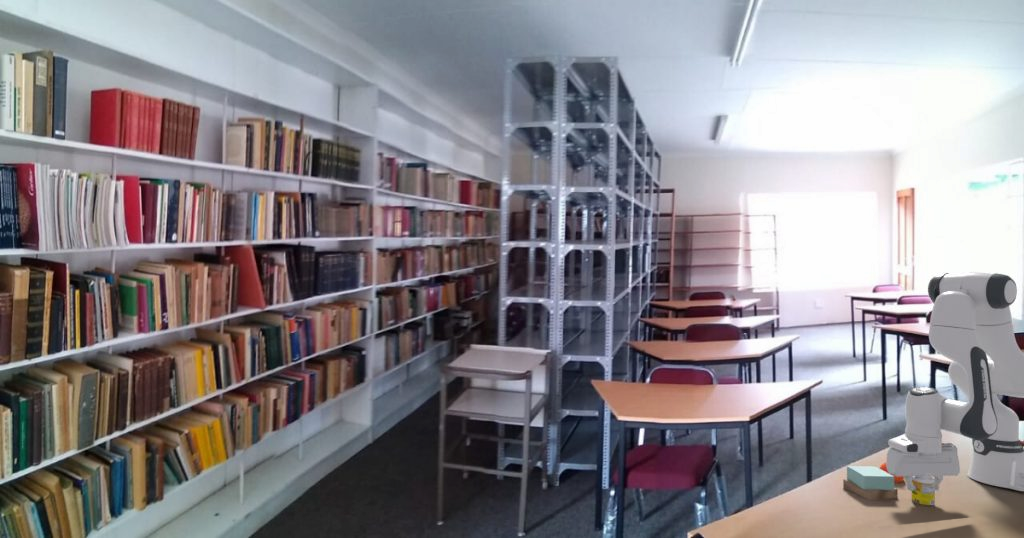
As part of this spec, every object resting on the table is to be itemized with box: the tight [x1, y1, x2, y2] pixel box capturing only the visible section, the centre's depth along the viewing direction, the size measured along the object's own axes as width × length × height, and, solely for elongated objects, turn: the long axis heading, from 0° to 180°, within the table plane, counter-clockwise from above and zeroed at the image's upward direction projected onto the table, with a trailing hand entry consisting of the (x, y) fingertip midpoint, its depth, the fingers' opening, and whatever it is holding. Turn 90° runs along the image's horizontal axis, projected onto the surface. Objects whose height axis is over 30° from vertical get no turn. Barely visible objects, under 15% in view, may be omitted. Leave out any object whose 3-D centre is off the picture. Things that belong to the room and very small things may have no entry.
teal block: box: [846, 465, 895, 490], centre depth 175 cm, size 9×9×4 cm
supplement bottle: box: [911, 473, 936, 508], centre depth 168 cm, size 6×6×10 cm
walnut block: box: [842, 478, 899, 501], centre depth 175 cm, size 10×10×4 cm
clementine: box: [878, 462, 905, 483], centre depth 186 cm, size 8×7×7 cm
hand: (923, 490), depth 168 cm, fingers closed on supplement bottle, 5 cm apart
